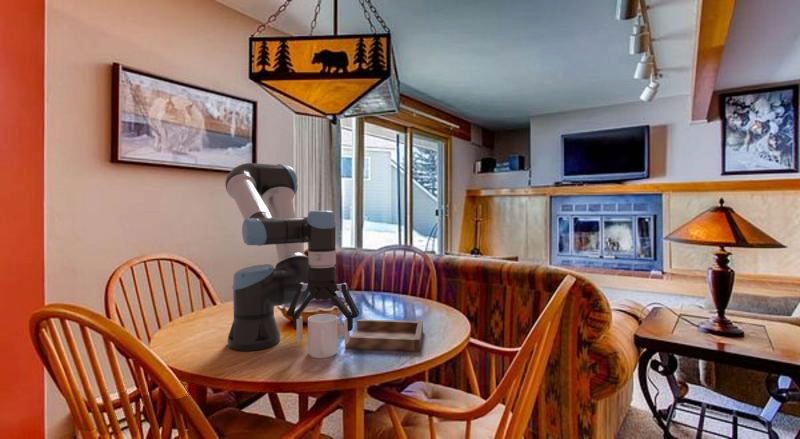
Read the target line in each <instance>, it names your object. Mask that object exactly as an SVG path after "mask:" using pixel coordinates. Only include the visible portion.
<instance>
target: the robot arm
mask: <svg viewBox="0 0 800 439" xmlns="http://www.w3.org/2000/svg"><path fill="white" fill-rule="evenodd" d="M224 186H225V189H226V192H227V194H228V196H229V197H231V198H232V199H233V200H234V201H235V203H236V205H237V206H238V207H237V208H238V209H239V212H240V213H241V215H242V217H243V222H242V225H241V226H242V229H241V231H242V232H241V235H242V240H243V242H244V244H246V246H258V247H259V246H260V247H261V246H269V245H275V248H276V254H277V258H278V261H277V262H276V264H275V267H274V265H273V264H269V263H268V264H256V265H251V266H246V267H243V268H241V269H239V270H238V269H237V271H235V273H234V274H233V278H232V279H233V280H232V292H233V293H232V295H233V298H232V299H233V301H232V302H233V319H232V320H233V321H232V324H231V327H230V330H229V334H228V336H227V347H228V348H229V349H230V350H234V351H239V352H253V351H259V350H265V349H269V348H271V347H274V346H276V345H277V344H278V343H280V341H281V332H280V329H279V325H278V324H277V321H276V318H275V307H277V306H285V305H289V307H288V309H287V311H286V317H291V318H292V320H293V321H292V322H293V325H292V326H293V330H295V331H296V343H301V342H302V341H303V340H304V337H303V336H304V335H303V333H304V331H303V330H304V329H303V328H304V327H303V316H301V314H302V313H303V312H304V311H305V310H306V308H308V306H309V304H310V303H311V302H312V301H315V300H316V301H319V300H324V301H327V300H330V301H331V302H332V303H334V305H335V306H336V308H338V310H339V312H341V313H342V314H343V316H344V317H345V319H344V322H343V325H344V345H345V344H348V342H349V341H350V332H351V331H353V328H354V319H357V318H358V317H359V316H360V311H359V309H358V307H357V305H356V302H355V301H354V299H353V297H352V295H351V293H350V291H349V286H348V283H347V282H344V283H337V267H336V266H335V265H336V264H337V256H336V254H337V253H336V251H337V250H336V244H337V243H336V241H337V240H336V234H337V233H336V226H337V223H336V222H337V221H336V214H335V211H332V210H310V211H309V212H308V214H307V216H302V217H301V216H300V217H296V213H295V210H294V204H293V201H292V200H293V199H294V197H295V195H296V194H297V191H298V176H297V174H296V171H295V170H294V168H292V166H290V165H287V164H282V163H280V164H271V163H270V164H269V163H255V162H254V163H253V162H249V163H248V162H246V163H242V164H239V165H236V166H235V167H234V168H233V169H231V170H230V172H229V173H228V175H227V176H226V179H225V185H224ZM304 243H306V244H307V243H308V244H307V246H308V247H307V250H308V252H307V254H308V255H306V254H305V250H304V247H303V244H304ZM337 290H339V292H340V293H341V294H342V295H343V299H344V301H345V302H346V304H345V303H344V302H343V301H342V300H341V298H340V297H339V295H338V294H337V293H336V291H337ZM298 304H301V305H300V306H299V307H298ZM346 305H347V306H346ZM297 307H298V309H297ZM296 309H297V310H296ZM295 310H296V311H295Z"/></svg>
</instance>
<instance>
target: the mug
mask: <svg viewBox="0 0 800 439" xmlns="http://www.w3.org/2000/svg"><path fill="white" fill-rule="evenodd" d="M307 353H308V355H309V356H310V357H312V358H315V359H327V358H330V357H333V356H335V355H336V354H337V353H338V315H335V314H331V313H319V314H314V315H310V316H308V318H307Z"/></svg>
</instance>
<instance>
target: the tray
mask: <svg viewBox="0 0 800 439" xmlns="http://www.w3.org/2000/svg"><path fill="white" fill-rule="evenodd" d="M423 333H424V321H421V320H394V319H392V320H390V319H389V320H386V319H364V318H363V319H362V318H359V319H357V320H356V330H355V331H354V333H353V335H350V334H349V335H350V341H349V342H348V344H345V343H344V346H345V348H344V349H345V350H361V351H363V350H365V351H384V352H385V351H391V352H409V353H411V352H414V353H420V352H421V347H422V340H423Z"/></svg>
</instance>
